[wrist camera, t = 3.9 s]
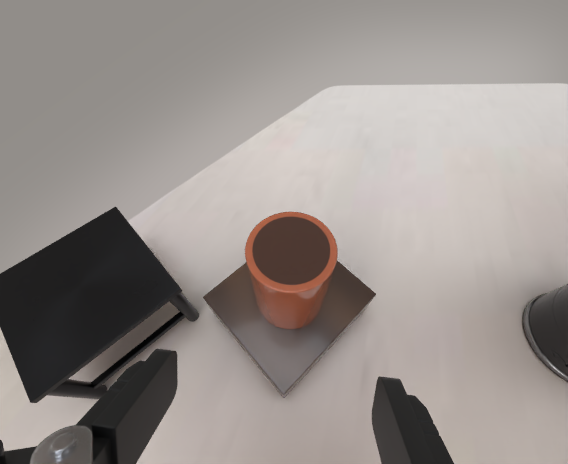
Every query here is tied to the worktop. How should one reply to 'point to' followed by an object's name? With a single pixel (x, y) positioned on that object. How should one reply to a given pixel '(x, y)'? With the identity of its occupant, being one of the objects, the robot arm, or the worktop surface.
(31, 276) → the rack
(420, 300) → the worktop surface
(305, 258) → the cup
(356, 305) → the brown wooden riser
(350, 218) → the worktop surface
